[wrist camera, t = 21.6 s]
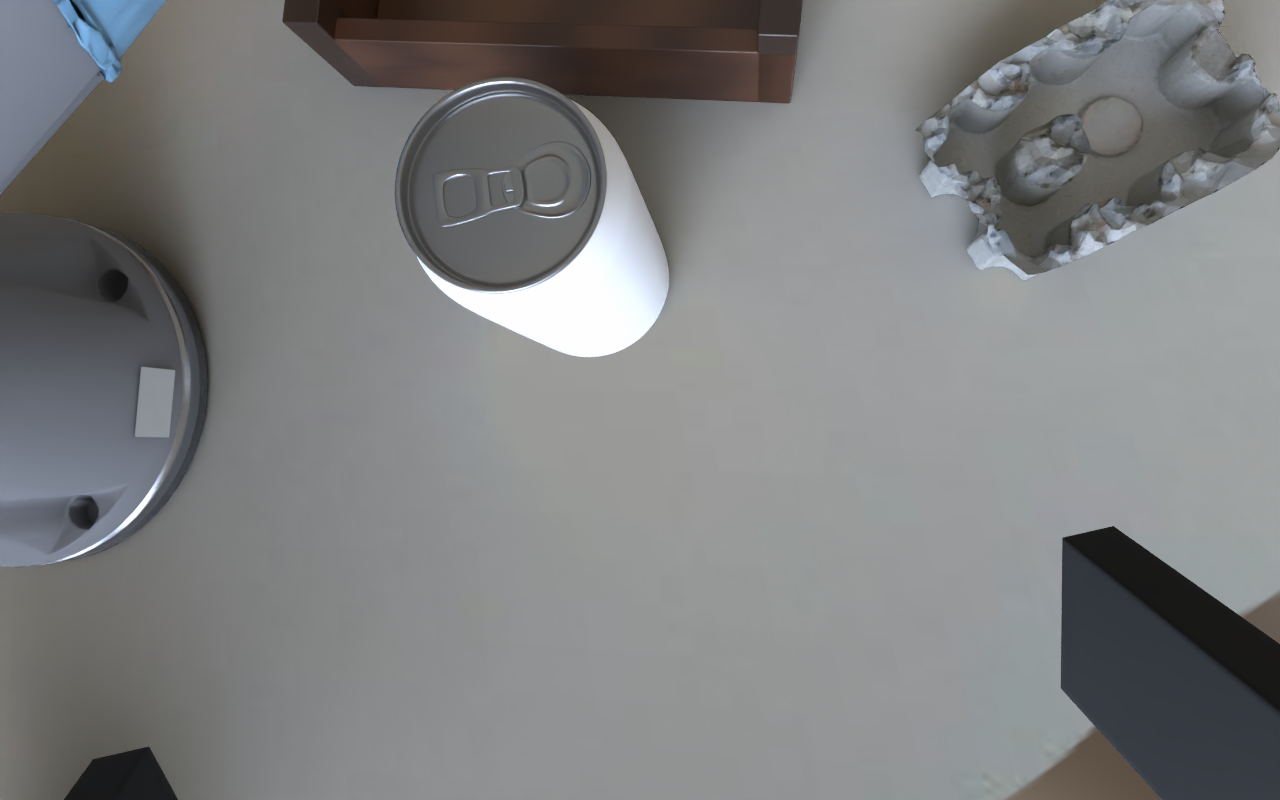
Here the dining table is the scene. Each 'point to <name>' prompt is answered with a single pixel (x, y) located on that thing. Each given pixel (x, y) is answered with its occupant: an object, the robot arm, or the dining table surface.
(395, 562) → the dining table surface
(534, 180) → the can
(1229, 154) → the egg carton
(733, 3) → the crate
